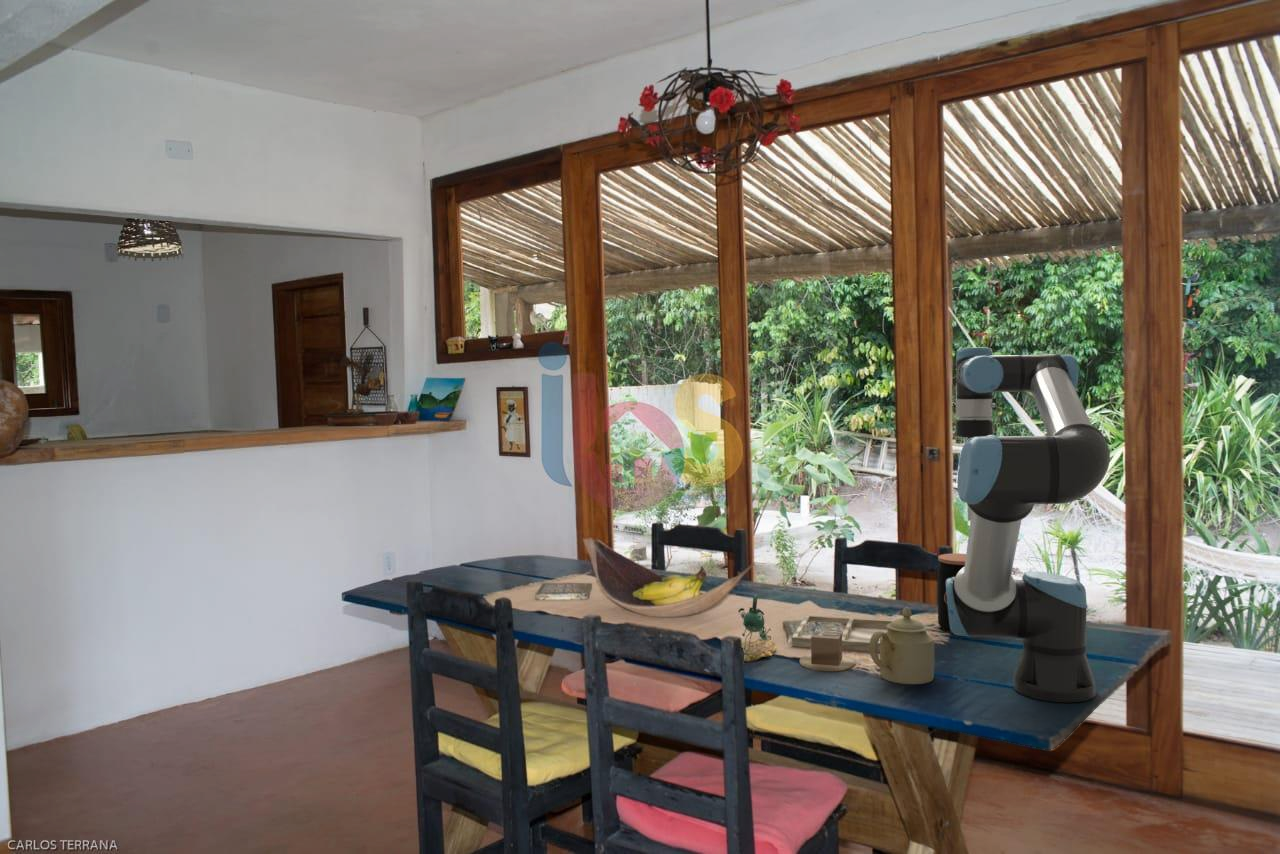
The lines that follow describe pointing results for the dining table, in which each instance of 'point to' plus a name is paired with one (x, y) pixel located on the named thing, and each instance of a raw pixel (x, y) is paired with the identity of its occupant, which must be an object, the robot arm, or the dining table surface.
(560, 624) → the dining table surface
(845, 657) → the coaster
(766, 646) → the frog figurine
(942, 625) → the coffee jar
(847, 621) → the tray
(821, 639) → the letter cube
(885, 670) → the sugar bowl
